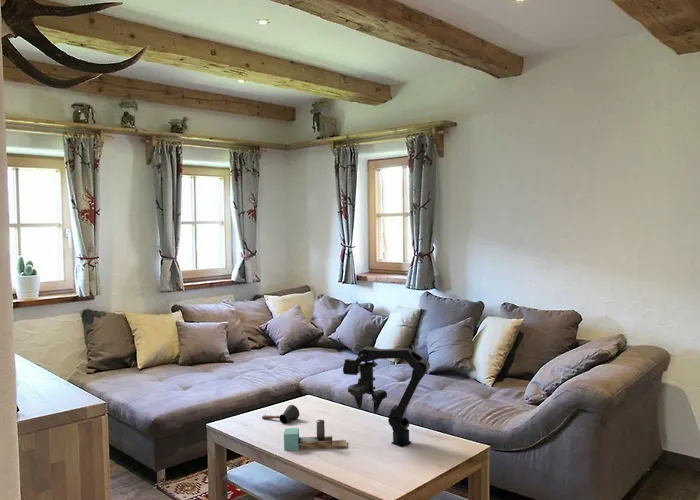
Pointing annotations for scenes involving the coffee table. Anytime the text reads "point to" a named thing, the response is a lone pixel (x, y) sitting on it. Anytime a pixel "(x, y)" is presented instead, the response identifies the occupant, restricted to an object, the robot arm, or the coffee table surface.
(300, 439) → the slip rod
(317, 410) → the coffee table surface
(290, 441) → the socket block
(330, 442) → the guide
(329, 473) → the coffee table surface
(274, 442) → the coffee table surface
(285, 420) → the black handbell
